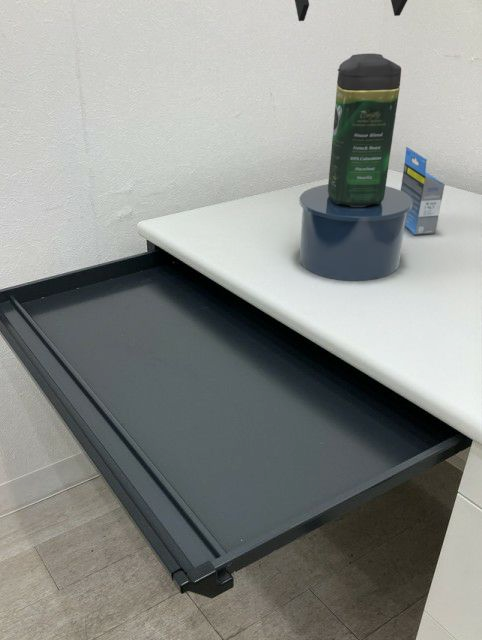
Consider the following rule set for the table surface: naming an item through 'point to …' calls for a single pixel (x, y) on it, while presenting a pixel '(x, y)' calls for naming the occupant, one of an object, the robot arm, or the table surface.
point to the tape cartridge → (421, 195)
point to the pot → (352, 235)
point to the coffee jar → (363, 129)
